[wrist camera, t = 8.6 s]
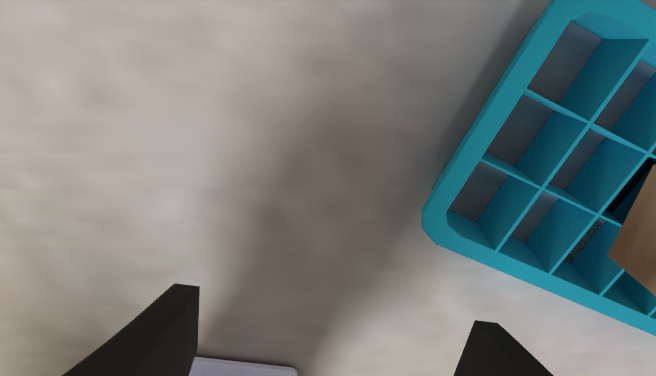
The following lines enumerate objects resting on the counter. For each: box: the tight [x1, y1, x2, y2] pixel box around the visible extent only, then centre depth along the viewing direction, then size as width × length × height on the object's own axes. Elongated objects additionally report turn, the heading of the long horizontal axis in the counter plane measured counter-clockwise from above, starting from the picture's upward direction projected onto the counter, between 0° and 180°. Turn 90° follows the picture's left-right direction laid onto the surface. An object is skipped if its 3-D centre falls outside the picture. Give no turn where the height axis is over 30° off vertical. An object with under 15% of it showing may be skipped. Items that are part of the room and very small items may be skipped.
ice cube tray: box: [422, 0, 656, 336], centre depth 19 cm, size 12×20×3 cm, turn 65°
